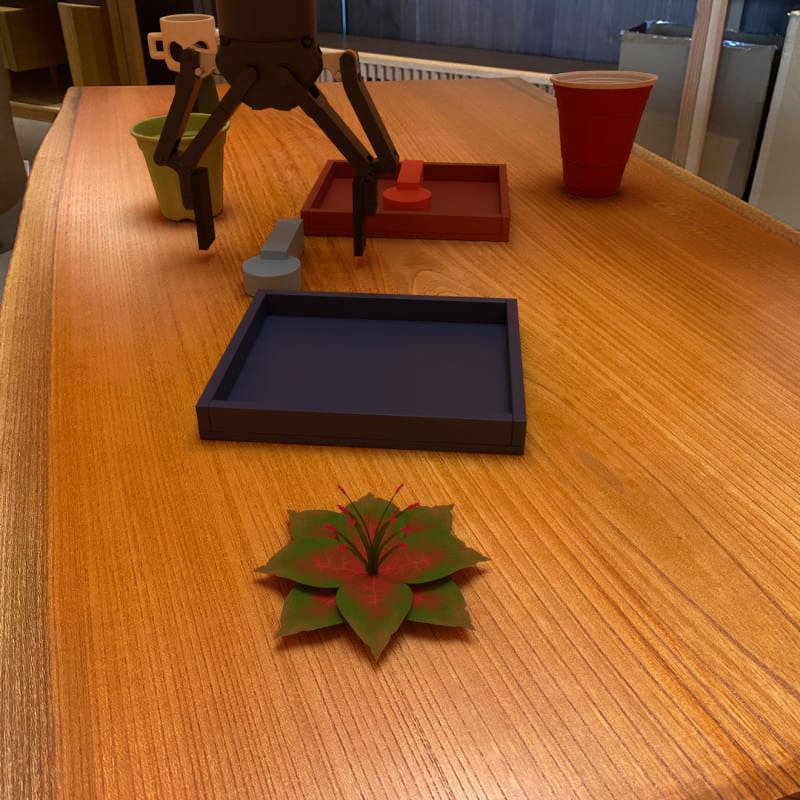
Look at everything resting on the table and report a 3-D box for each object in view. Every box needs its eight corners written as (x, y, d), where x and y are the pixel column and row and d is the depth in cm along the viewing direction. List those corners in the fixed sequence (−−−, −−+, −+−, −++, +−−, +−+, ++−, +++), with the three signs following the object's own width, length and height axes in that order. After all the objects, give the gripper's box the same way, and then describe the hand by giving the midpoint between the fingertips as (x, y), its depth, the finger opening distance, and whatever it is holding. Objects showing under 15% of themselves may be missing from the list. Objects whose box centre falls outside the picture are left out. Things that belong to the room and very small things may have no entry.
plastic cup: (608, 169, 97) (622, 59, 91) (660, 198, 89) (681, 79, 82) (523, 178, 94) (531, 66, 88) (568, 209, 86) (582, 87, 79)
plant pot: (180, 236, 79) (167, 143, 75) (126, 213, 85) (110, 125, 80) (258, 211, 85) (249, 124, 81) (202, 190, 91) (191, 108, 86)
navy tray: (514, 326, 64) (517, 298, 62) (523, 455, 50) (527, 421, 48) (260, 316, 65) (257, 288, 64) (199, 439, 51) (194, 406, 50)
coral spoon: (435, 186, 90) (435, 160, 89) (429, 222, 81) (430, 194, 79) (390, 185, 91) (390, 159, 89) (380, 220, 81) (380, 192, 80)
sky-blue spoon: (318, 248, 77) (317, 219, 75) (296, 300, 68) (294, 267, 66) (267, 246, 77) (264, 217, 76) (237, 298, 68) (234, 265, 66)
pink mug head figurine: (155, 126, 113) (140, 22, 107) (163, 113, 119) (148, 14, 113) (237, 124, 114) (226, 21, 107) (240, 112, 120) (230, 13, 113)
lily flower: (236, 679, 36) (224, 602, 33) (260, 501, 46) (253, 432, 44) (514, 667, 36) (522, 591, 34) (478, 494, 47) (482, 426, 44)
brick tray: (504, 185, 92) (506, 163, 91) (508, 241, 78) (510, 216, 77) (328, 180, 94) (327, 159, 92) (301, 235, 80) (299, 210, 78)
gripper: (81, -19, 60) (129, 258, 72) (429, -12, 59) (421, 270, 70) (120, -29, 67) (158, 226, 78) (434, -23, 65) (427, 237, 76)
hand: (283, 248), depth 74 cm, fingers open, 13 cm apart
